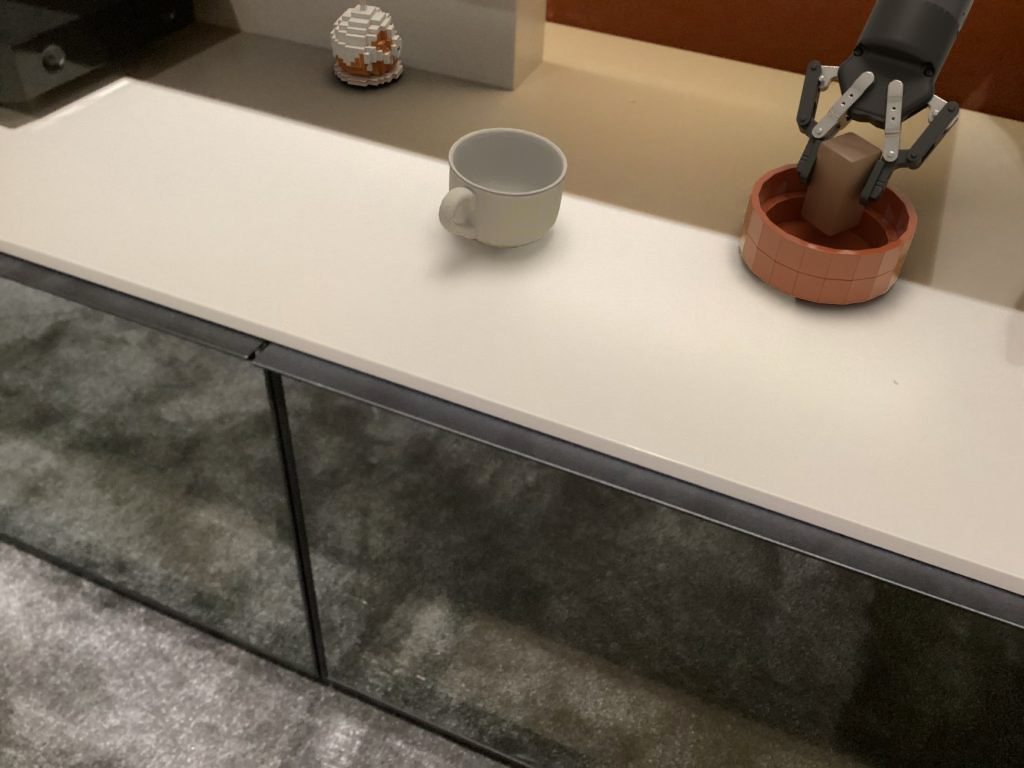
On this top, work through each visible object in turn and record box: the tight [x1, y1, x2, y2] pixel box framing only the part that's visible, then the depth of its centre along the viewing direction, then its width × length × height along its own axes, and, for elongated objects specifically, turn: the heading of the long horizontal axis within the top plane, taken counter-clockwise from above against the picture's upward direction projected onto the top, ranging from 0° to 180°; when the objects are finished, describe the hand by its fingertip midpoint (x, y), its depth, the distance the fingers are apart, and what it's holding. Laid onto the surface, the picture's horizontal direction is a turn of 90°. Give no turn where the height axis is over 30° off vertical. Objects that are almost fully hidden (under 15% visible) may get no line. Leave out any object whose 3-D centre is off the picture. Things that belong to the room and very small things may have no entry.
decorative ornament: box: [329, 0, 404, 87], centre depth 108 cm, size 8×8×15 cm
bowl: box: [739, 162, 918, 306], centre depth 88 cm, size 14×14×6 cm
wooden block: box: [801, 131, 883, 236], centre depth 87 cm, size 4×4×8 cm
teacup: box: [438, 127, 569, 249], centre depth 89 cm, size 14×11×8 cm
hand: (833, 192), depth 86 cm, fingers closed on wooden block, 5 cm apart
